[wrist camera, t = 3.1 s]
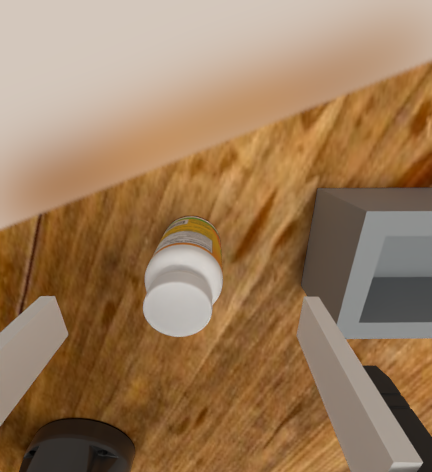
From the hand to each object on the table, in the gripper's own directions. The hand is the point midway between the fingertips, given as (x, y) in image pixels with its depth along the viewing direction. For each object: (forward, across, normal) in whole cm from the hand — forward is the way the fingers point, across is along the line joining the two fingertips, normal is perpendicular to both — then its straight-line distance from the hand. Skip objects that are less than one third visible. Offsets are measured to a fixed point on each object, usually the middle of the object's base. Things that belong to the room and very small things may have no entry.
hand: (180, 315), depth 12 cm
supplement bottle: (+10, 0, 0) cm, 11 cm away
